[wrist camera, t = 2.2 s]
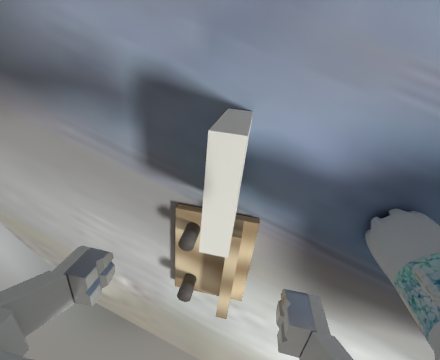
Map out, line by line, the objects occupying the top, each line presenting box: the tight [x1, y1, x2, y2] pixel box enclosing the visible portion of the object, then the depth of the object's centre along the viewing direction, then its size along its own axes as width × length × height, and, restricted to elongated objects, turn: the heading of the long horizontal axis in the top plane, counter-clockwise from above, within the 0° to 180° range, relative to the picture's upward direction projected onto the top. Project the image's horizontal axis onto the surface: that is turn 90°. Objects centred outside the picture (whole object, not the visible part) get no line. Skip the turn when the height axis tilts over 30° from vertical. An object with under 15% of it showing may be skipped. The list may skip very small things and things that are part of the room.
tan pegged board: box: [175, 204, 260, 319], centre depth 28 cm, size 14×10×4 cm
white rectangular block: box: [199, 108, 253, 258], centre depth 19 cm, size 10×2×9 cm, turn 174°
